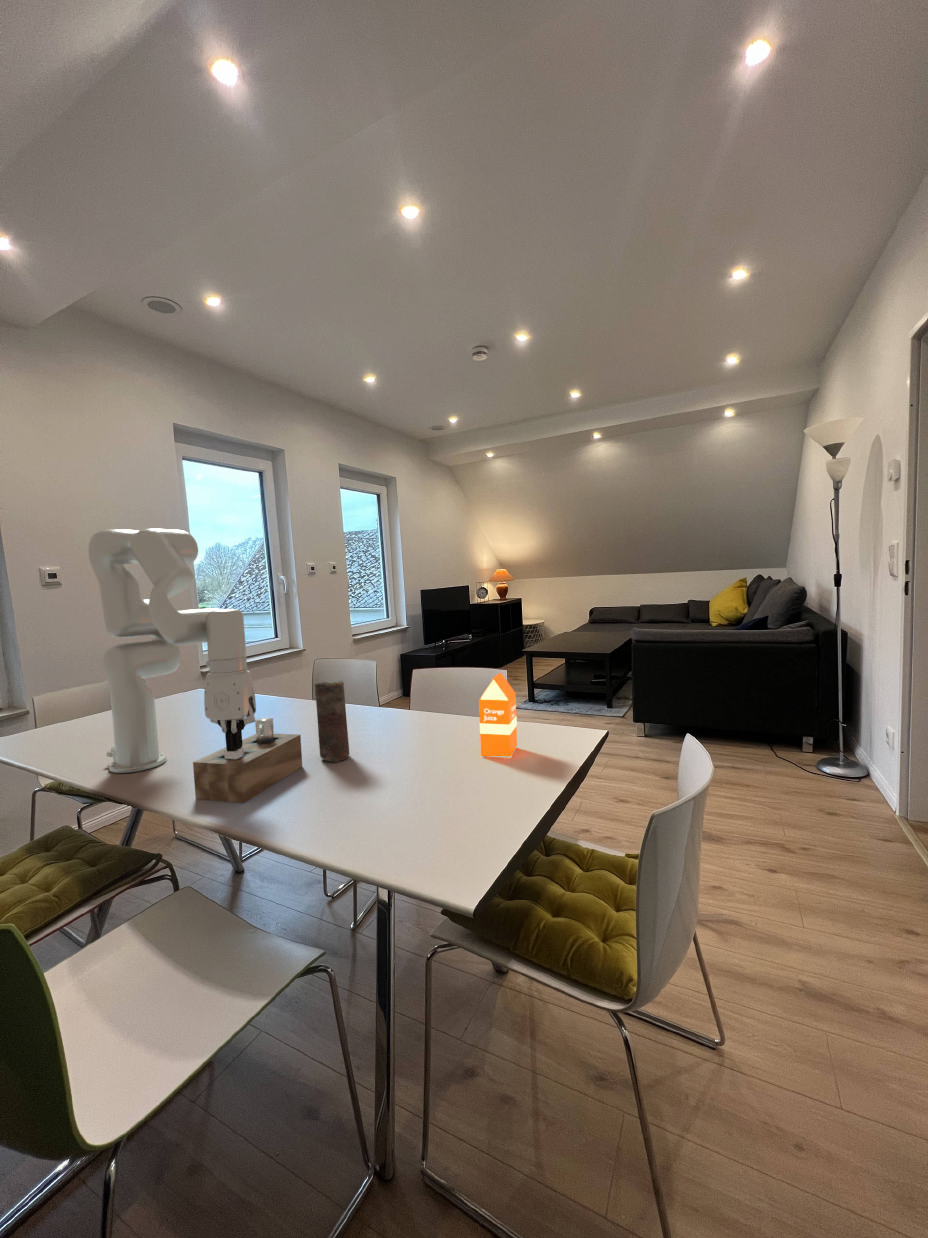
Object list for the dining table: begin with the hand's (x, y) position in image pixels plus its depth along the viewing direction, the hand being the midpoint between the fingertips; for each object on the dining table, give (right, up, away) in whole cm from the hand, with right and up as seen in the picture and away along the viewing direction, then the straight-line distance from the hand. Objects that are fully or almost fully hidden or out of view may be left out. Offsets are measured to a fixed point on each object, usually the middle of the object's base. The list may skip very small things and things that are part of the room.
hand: (234, 749), depth 117 cm
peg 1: (0, -8, +1) cm, 8 cm away
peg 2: (+3, -4, +11) cm, 12 cm away
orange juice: (+59, -6, +20) cm, 63 cm away
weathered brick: (+17, -8, +21) cm, 28 cm away
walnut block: (+2, -9, +6) cm, 11 cm away
